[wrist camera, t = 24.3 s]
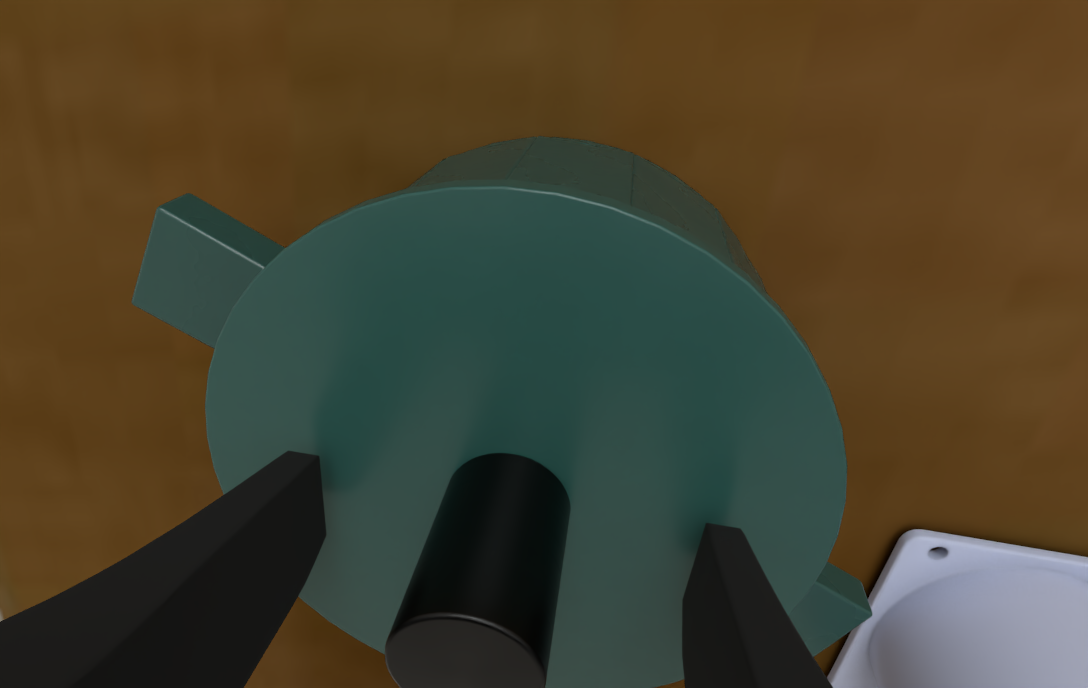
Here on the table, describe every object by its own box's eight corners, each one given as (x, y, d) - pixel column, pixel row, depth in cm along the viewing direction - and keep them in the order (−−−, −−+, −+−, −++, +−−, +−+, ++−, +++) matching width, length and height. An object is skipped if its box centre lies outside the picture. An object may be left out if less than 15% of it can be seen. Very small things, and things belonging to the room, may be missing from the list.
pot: (357, -35, 14) (194, -47, 9) (945, 353, 17) (1079, 517, 11) (217, 342, 20) (65, 468, 14) (675, 592, 22) (684, 776, 17)
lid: (366, 9, 10) (164, 27, 6) (985, 413, 11) (1173, 648, 7) (172, 504, 15) (5, 688, 11) (602, 720, 17) (589, 945, 13)
